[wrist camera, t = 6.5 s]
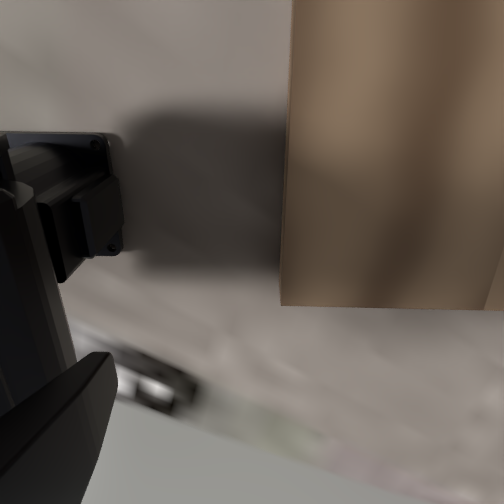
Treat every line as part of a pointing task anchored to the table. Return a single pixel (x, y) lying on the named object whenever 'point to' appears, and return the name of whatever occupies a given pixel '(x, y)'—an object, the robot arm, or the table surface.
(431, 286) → the board
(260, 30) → the table surface
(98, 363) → the robot arm
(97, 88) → the table surface
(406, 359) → the table surface
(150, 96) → the table surface
